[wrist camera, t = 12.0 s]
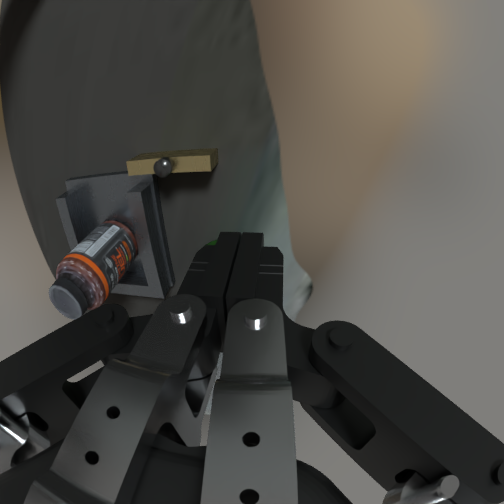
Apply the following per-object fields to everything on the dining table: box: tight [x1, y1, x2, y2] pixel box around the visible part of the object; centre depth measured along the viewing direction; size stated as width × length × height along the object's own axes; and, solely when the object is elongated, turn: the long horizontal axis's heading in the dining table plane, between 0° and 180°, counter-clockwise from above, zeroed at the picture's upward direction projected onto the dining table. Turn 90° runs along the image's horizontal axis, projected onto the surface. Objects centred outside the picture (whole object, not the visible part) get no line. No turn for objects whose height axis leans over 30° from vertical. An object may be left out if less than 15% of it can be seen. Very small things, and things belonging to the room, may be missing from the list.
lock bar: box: [127, 148, 218, 177], centre depth 24 cm, size 2×8×4 cm, turn 91°
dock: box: [56, 171, 175, 298], centre depth 29 cm, size 14×12×4 cm
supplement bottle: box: [49, 221, 138, 320], centre depth 25 cm, size 6×6×11 cm
